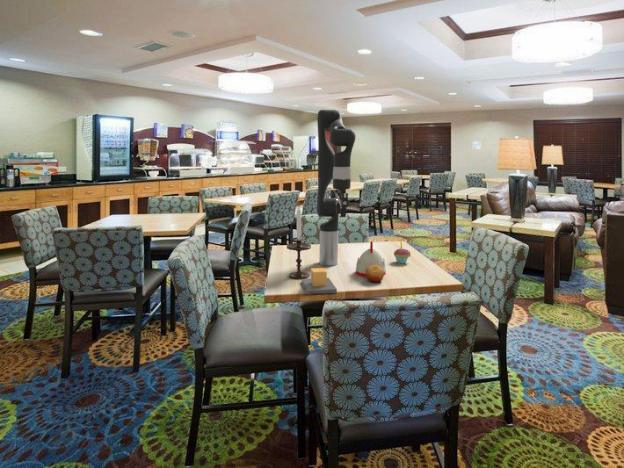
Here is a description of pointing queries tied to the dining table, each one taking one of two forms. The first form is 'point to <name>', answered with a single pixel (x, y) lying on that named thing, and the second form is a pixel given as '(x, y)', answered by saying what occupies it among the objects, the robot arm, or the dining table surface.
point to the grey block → (319, 287)
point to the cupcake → (401, 254)
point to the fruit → (374, 273)
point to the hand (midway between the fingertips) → (340, 215)
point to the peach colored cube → (318, 277)
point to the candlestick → (298, 249)
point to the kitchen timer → (369, 261)
